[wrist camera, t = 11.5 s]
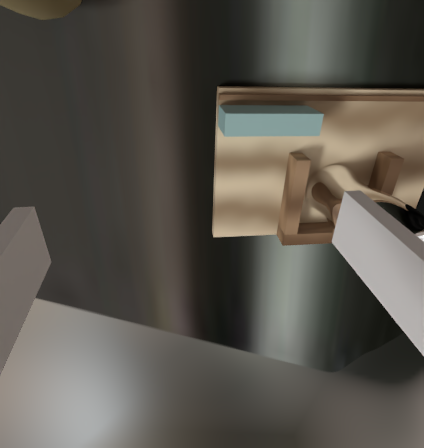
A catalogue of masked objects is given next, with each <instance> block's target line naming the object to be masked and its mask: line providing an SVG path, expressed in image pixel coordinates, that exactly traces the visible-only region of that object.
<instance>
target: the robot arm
mask: <svg viewBox="0 0 424 448" xmlns="http://www.w3.org/2000/svg"><path fill="white" fill-rule="evenodd" d="M332 243H333V244H334V245H335V247H336V248H337V249H338V250H339V252H340V253H341V254H342V255H343V257H344V258H345V259H346V260H347V261H348V263H349V264H350V265H351V266H352V268H353V269H354V270H355V271H356V273H357V274H358V275H359V276H360V278H361V279H362V280H363V281H364V283H365V284H366V285H367V286H368V288H369V289H370V290H371V291H372V293H373V294H374V295H375V296H376V297H377V299H378V300H379V301H380V302H381V304H382V305H383V306H384V307H385V309H386V310H387V311H388V312H389V314H390V315H391V316H392V317H393V319H394V320H395V321H396V322H397V324H398V325H399V326H400V327H401V328H402V330H403V331H404V332H405V333H406V334H407V336H408V337H409V338H410V340H411V341H412V342H413V343H414V345H415V346H416V347H417V348H418V349H419V351H420V352H421V353H422V354H423V356H424V242H423V241H422V240H421V239H420V238H418V237H417V236H416V235H415V234H414V233H412V232H411V231H410V230H409V229H407V228H406V227H405V226H404V225H402V224H401V223H400V222H399V221H397V220H396V219H395V218H394V217H393V216H391V215H390V214H389V213H388V212H386V211H385V210H384V209H383V208H381V207H380V206H379V205H378V204H377V203H375V202H374V201H373V200H372V199H370V198H369V197H368V196H367V195H365V194H364V193H363V192H362V191H361V190H357V191H344V195H343V199H342V203H341V207H340V211H339V215H338V218H337V222H336V226H335V230H334V234H333V238H332ZM50 263H51V260H50V256H49V253H48V250H47V247H46V243H45V240H44V237H43V233H42V230H41V227H40V224H39V220H38V217H37V214H36V211H35V207H19V208H13V209H12V210H11V212H10V213H9V214H8V215H7V217H6V218H5V219H4V221H3V222H2V223H1V224H0V374H1V372H2V370H3V368H4V366H5V363H6V361H7V359H8V357H9V354H10V352H11V350H12V348H13V345H14V343H15V341H16V339H17V337H18V334H19V332H20V330H21V328H22V325H23V323H24V321H25V319H26V317H27V314H28V312H29V310H30V308H31V305H32V303H33V301H34V299H35V297H36V295H37V292H38V290H39V288H40V286H41V283H42V281H43V279H44V277H45V275H46V272H47V270H48V268H49V266H50Z"/></svg>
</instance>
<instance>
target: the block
mask: <svg viewBox="0 0 424 448" xmlns="http://www.w3.org/2000/svg"><path fill="white" fill-rule="evenodd" d="M323 116H324V114H323V113H321V112H319V111H317V110H315V109H313V108H311V107H309V106H307V105H219V114H218V127H219V128H220V130H221V132H222V133H223V135H224V137H247V136H320V131H321V126H322V121H323Z"/></svg>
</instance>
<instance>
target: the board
mask: <svg viewBox="0 0 424 448" xmlns="http://www.w3.org/2000/svg"><path fill="white" fill-rule="evenodd" d="M219 105H307V106H309V107H311V108H313V109H315V110H317V111H319V112H321V113H323V114H324V116H323V121H322V126H321V131H320V136H247V137H224V135H223V133H222V132H221V130H220V128H219V127H218V114H219ZM335 164H339V165H344V166H347V167H349V168H350V169H351V170H352V171H353V172H354V173H355V174H356V176H357V177H358V178H359V180H360V181H361V182H362V183H364V184H366V185H368V186H370V187H373V188H375V189H378V190H380V191H383V192H385V193H388V194H390V195H392V196H394V197H396V198H398V199H401V200H402V201H404V202H406V203H407V204H409V205H410V206H412V207H414V208H415V209H416V206H417V204H418V201H419V198H420V196H421V193H422V191H423V188H424V89H389V88H314V87H239V86H217V108H216V137H215V166H214V195H213V224H212V233H213V237H230V236H252V235H273V234H277V236H278V238H279V239H280V241H281V243H282V245H303V244H323V243H332V238H333V234H334V233H333V230H332V228H331V226H330V224H329V222H328V220H327V219H326V218H325V217H324V216H323V215H322V214H321V213H319V212H317V211H316V210H314V209H313V208H312V207H311V206H310V205H309V203H308V201H307V197H306V190H307V186H308V184H309V182H310V180H311V178H312V177H313V176H314V175H315V174H316V173H317V172H318V171H319V170H321V169H323V168H324V167H327V166H330V165H335Z"/></svg>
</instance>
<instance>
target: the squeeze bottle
mask: <svg viewBox="0 0 424 448" xmlns="http://www.w3.org/2000/svg"><path fill="white" fill-rule="evenodd" d="M81 2H82V0H0V5H2V6H4V7H6V8H8V9H11V10H13V11H15V12H17V13H20V14H23V15H26V16H30V17H33V18H37V19H40V20H47V19H54V18H61V17H64V16H66V15H67V14H68V13H70V12H71V11H72V10H74V9H75V8H76V7H78V6H79V5H80V4H81Z"/></svg>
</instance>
